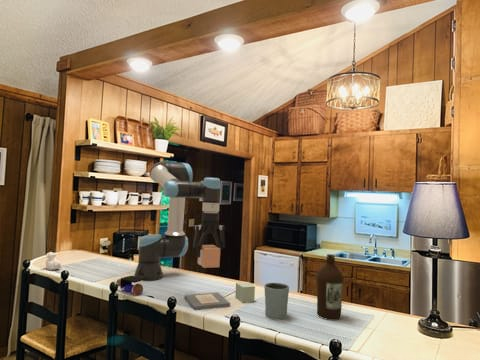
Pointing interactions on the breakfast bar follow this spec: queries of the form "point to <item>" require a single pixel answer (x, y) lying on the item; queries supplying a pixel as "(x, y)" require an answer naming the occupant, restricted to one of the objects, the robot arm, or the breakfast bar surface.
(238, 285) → the sage brick
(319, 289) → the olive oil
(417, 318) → the breakfast bar surface
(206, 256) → the terracotta brick
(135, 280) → the figurine character
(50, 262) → the duck figurine
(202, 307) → the slate board
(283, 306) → the grey cup
